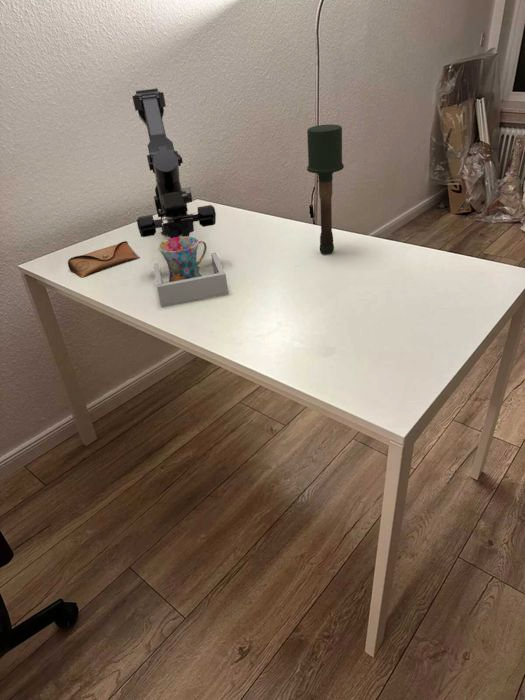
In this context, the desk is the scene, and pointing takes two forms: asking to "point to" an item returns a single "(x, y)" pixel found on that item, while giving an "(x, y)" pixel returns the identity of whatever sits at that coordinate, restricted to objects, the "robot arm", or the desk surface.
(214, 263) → the grey open tray
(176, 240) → the mug
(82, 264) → the sunglasses case
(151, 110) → the robot arm
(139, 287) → the desk surface
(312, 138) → the stick grenade
